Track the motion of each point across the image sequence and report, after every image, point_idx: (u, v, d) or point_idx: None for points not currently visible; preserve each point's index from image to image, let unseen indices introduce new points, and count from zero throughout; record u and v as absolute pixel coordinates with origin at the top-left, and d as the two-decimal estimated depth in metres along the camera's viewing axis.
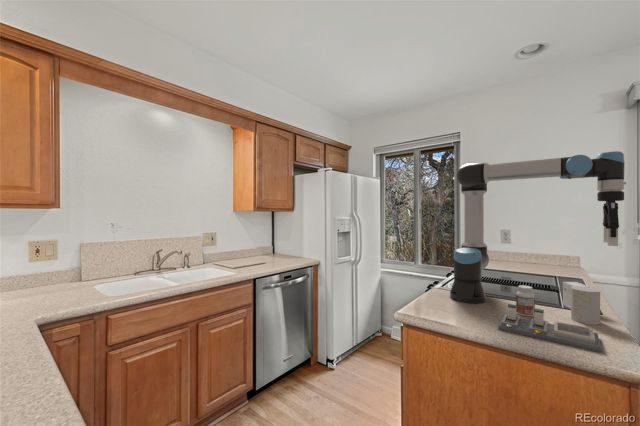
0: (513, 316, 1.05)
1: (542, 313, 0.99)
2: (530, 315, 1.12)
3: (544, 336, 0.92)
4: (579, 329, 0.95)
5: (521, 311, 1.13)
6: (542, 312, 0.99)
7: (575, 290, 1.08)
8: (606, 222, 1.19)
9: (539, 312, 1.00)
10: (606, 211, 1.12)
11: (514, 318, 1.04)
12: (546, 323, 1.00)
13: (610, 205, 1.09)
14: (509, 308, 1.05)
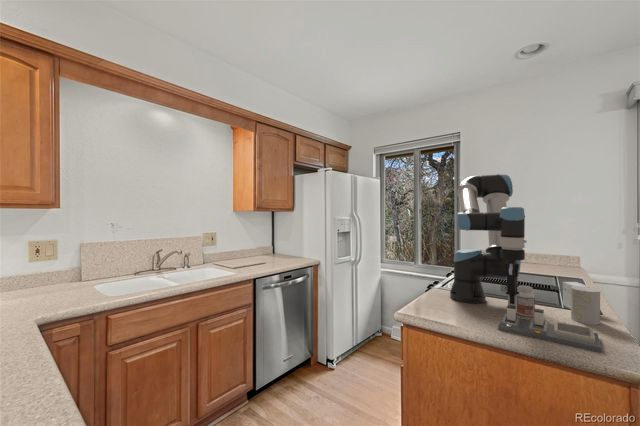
0: (513, 317, 1.04)
1: (542, 313, 0.99)
2: (530, 315, 1.12)
3: (544, 336, 0.92)
4: (579, 329, 0.95)
5: (521, 311, 1.13)
6: (542, 312, 0.99)
7: (575, 290, 1.08)
8: None
9: (539, 312, 1.00)
10: (507, 273, 1.06)
11: (514, 319, 1.03)
12: (546, 323, 1.00)
13: (508, 273, 1.02)
14: (509, 309, 1.04)
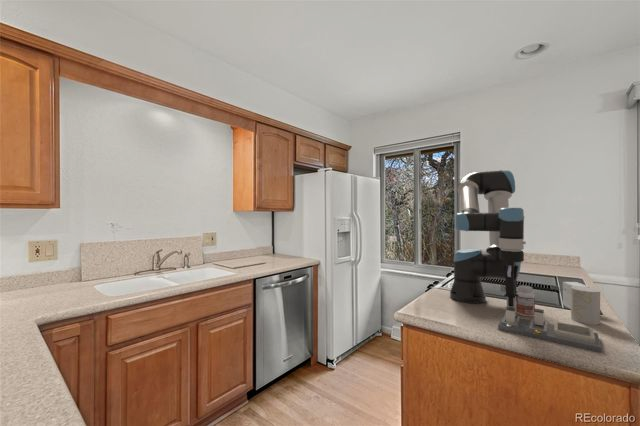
0: (512, 319, 1.02)
1: (542, 313, 0.99)
2: (530, 315, 1.12)
3: (544, 336, 0.92)
4: (579, 329, 0.95)
5: (521, 311, 1.13)
6: (542, 312, 0.99)
7: (575, 290, 1.08)
8: None
9: (539, 312, 1.00)
10: None
11: (513, 321, 1.01)
12: (546, 323, 1.00)
13: (506, 275, 1.00)
14: (507, 311, 1.02)
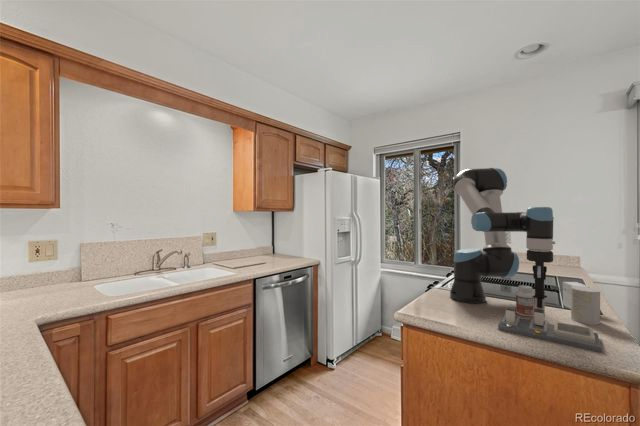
0: (512, 319, 1.02)
1: (542, 313, 0.99)
2: (530, 315, 1.12)
3: (544, 336, 0.92)
4: (579, 329, 0.95)
5: (521, 311, 1.13)
6: (542, 312, 0.99)
7: (575, 290, 1.08)
8: None
9: (539, 312, 1.00)
10: (534, 276, 1.02)
11: (513, 321, 1.01)
12: (546, 323, 1.00)
13: (536, 275, 0.98)
14: (507, 311, 1.02)
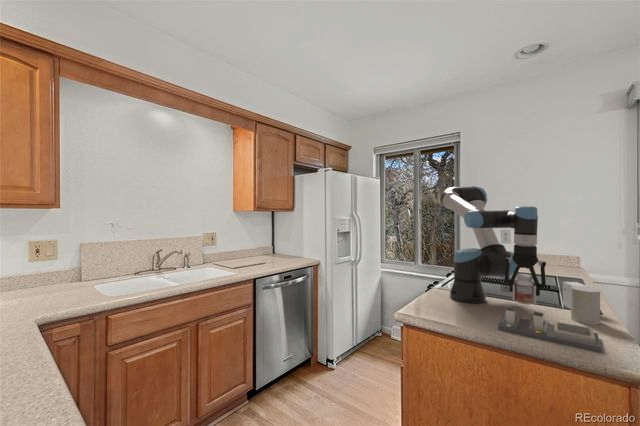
0: (512, 319, 1.02)
1: (541, 316, 0.96)
2: (529, 303, 1.13)
3: (544, 336, 0.92)
4: (579, 329, 0.95)
5: (520, 299, 1.14)
6: (541, 315, 0.96)
7: (575, 290, 1.08)
8: (534, 280, 1.14)
9: (538, 315, 0.97)
10: None
11: (513, 321, 1.01)
12: (546, 323, 1.00)
13: None
14: (507, 311, 1.02)
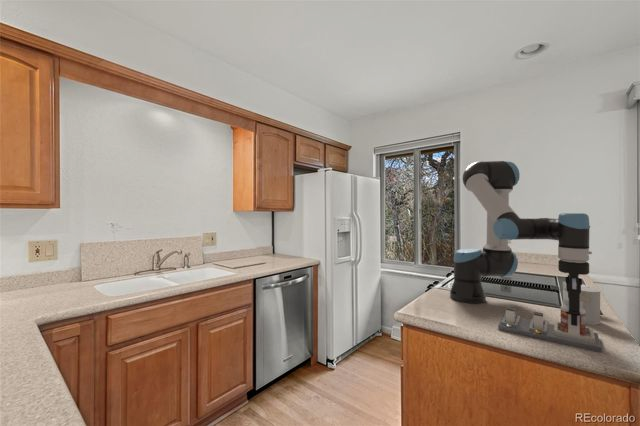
0: (512, 319, 1.02)
1: (541, 316, 0.96)
2: None
3: (544, 336, 0.92)
4: None
5: (585, 331, 0.91)
6: (541, 315, 0.96)
7: None
8: None
9: (538, 315, 0.97)
10: (567, 288, 0.92)
11: (513, 321, 1.01)
12: (546, 323, 1.00)
13: (571, 286, 0.88)
14: (507, 311, 1.02)
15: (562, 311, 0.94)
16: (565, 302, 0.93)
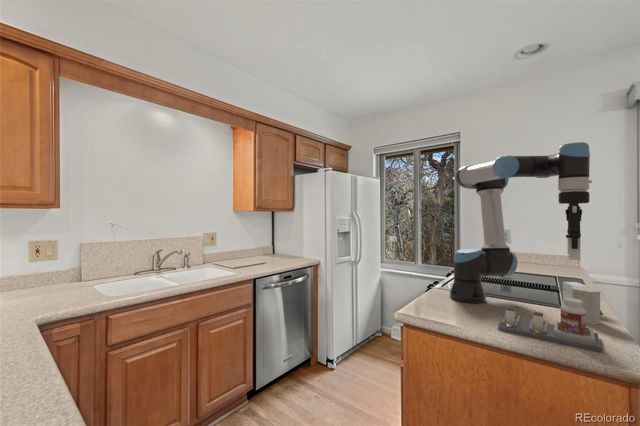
0: (512, 319, 1.02)
1: (541, 316, 0.96)
2: None
3: (544, 336, 0.92)
4: None
5: (585, 331, 0.91)
6: (541, 315, 0.96)
7: (575, 290, 1.08)
8: None
9: (538, 315, 0.97)
10: (567, 216, 0.91)
11: (513, 321, 1.01)
12: (546, 323, 1.00)
13: (571, 209, 0.88)
14: (507, 311, 1.02)
15: (562, 311, 0.94)
16: (565, 302, 0.93)
